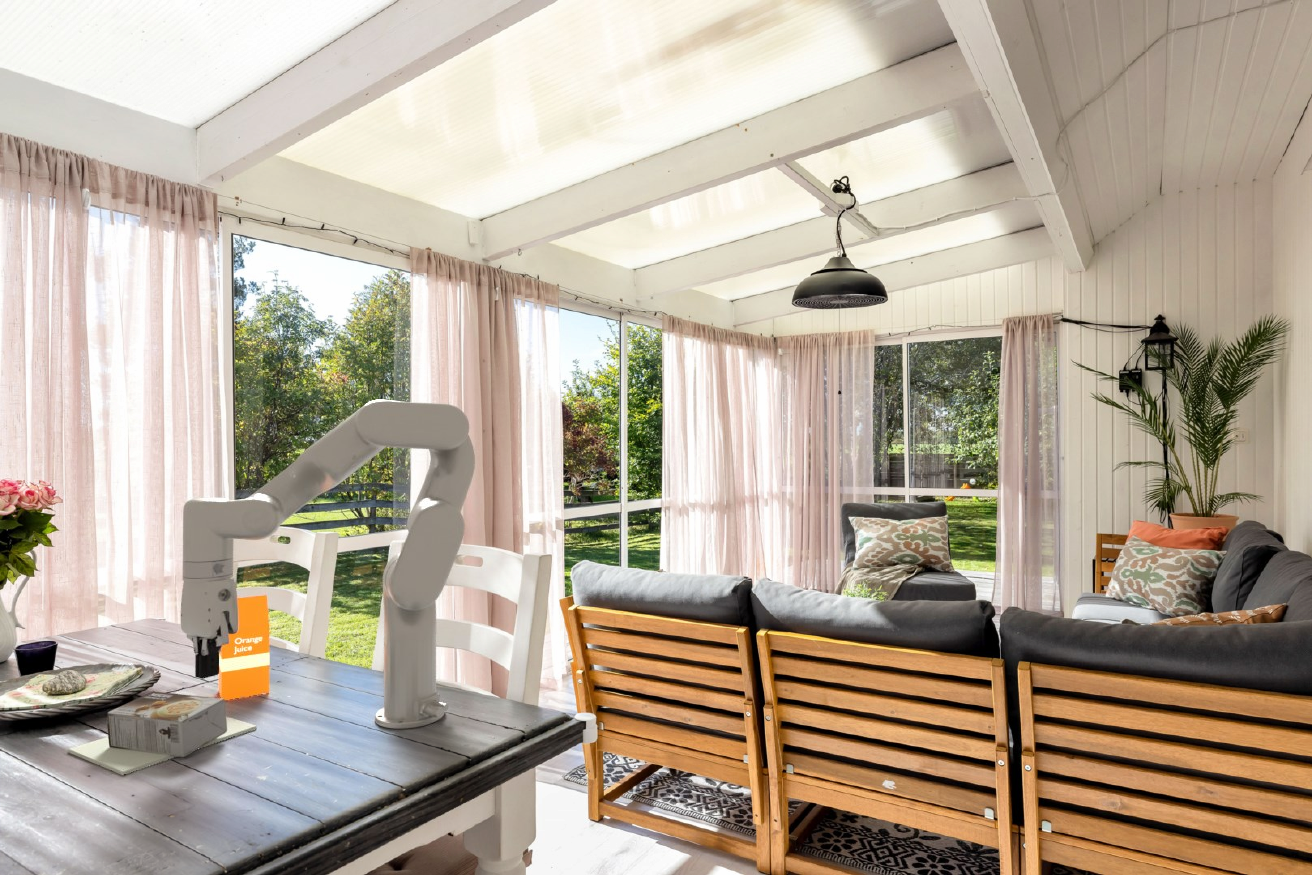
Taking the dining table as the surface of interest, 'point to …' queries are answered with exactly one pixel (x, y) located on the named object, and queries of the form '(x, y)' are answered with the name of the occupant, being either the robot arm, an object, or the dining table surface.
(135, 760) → the mat
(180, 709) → the coffee box
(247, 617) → the orange juice
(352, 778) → the dining table surface
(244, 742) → the dining table surface
